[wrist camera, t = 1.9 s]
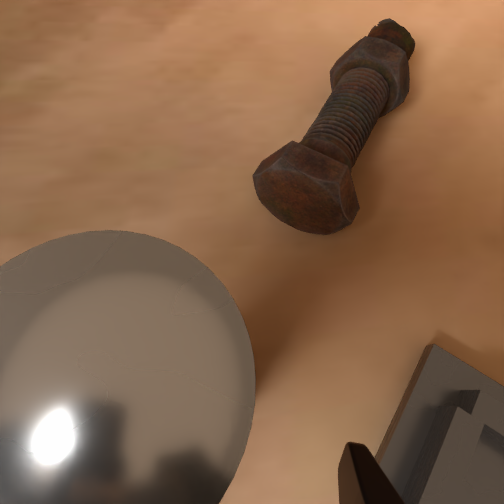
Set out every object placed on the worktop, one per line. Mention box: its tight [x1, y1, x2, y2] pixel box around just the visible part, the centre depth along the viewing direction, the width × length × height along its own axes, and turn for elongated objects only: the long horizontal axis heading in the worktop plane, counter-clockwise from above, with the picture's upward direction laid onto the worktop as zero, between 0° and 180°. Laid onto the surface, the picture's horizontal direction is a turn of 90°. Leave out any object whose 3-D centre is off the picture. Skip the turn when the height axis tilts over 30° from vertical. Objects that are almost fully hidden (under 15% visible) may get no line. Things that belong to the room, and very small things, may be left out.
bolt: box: [253, 18, 415, 235], centre depth 21 cm, size 6×5×15 cm
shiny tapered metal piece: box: [0, 230, 256, 504], centre depth 11 cm, size 4×4×14 cm
